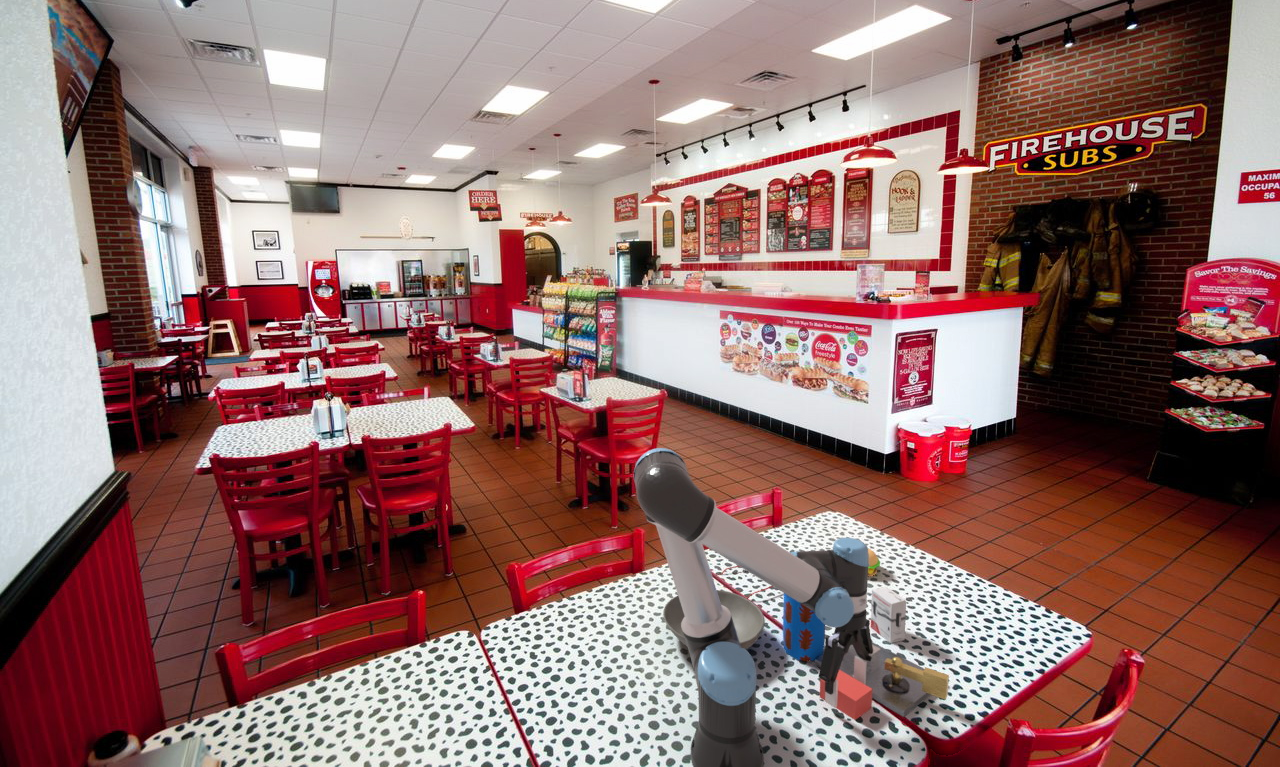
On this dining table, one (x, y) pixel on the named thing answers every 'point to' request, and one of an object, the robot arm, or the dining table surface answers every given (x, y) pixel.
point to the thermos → (802, 631)
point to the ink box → (888, 614)
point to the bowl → (742, 612)
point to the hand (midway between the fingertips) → (845, 693)
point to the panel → (885, 680)
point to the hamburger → (872, 563)
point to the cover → (850, 695)
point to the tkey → (919, 677)
